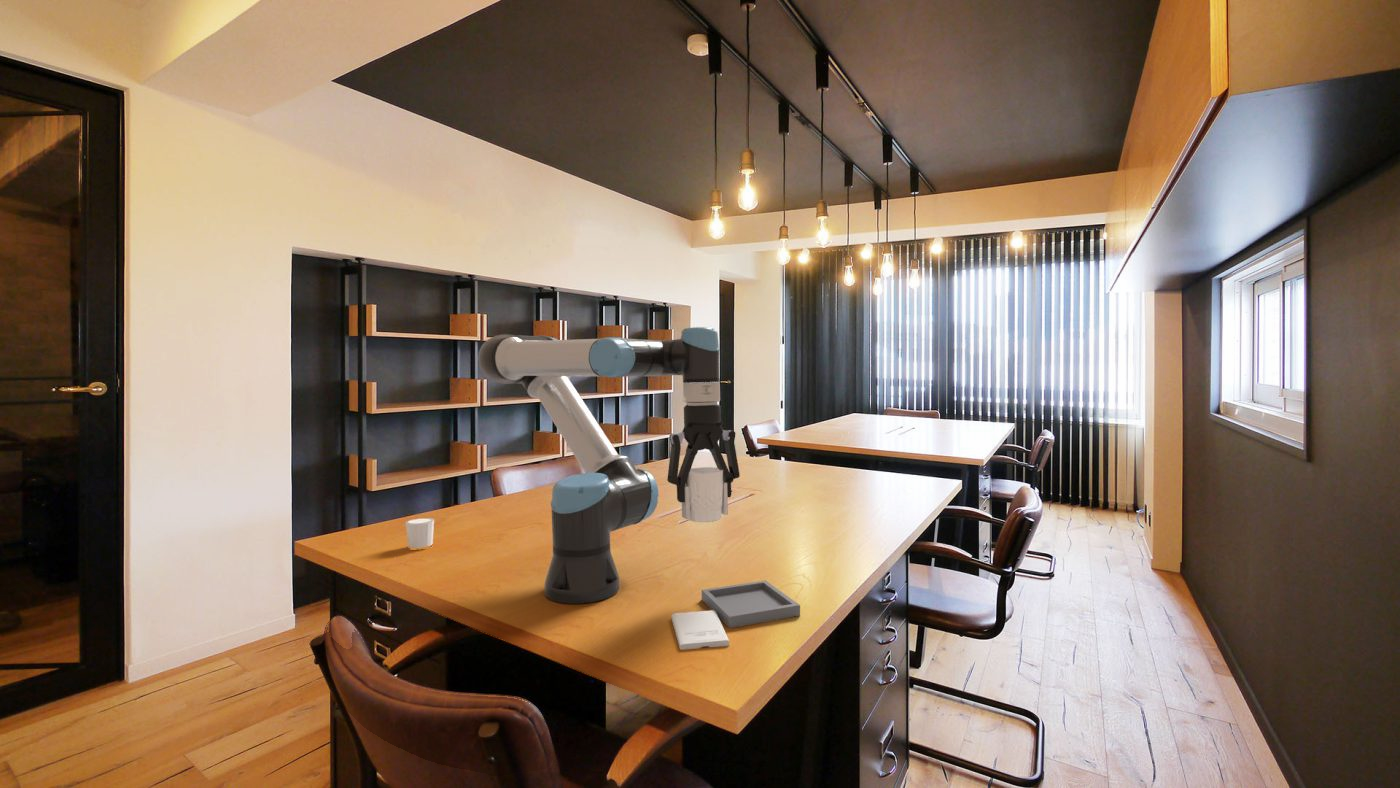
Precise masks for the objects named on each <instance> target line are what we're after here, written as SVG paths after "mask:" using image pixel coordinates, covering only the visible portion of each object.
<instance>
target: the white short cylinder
mask: <svg viewBox="0 0 1400 788" xmlns="http://www.w3.org/2000/svg"><path fill="white" fill-rule="evenodd" d="M434 526H435V518H432V517H420V518H413V519H410V520H407V521H405V531H406V536H407V537H406V538H407V544H408V548H409V547H411V548H421V547H427V546H430V545H432V544H433V543H434V530H435V529H434Z"/></svg>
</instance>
